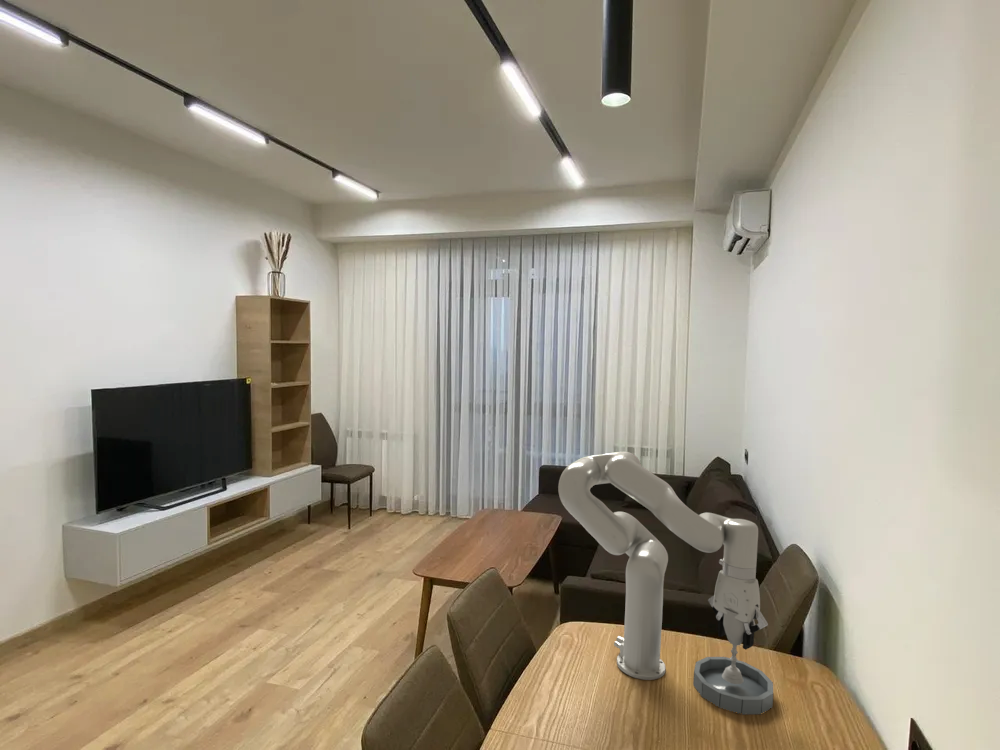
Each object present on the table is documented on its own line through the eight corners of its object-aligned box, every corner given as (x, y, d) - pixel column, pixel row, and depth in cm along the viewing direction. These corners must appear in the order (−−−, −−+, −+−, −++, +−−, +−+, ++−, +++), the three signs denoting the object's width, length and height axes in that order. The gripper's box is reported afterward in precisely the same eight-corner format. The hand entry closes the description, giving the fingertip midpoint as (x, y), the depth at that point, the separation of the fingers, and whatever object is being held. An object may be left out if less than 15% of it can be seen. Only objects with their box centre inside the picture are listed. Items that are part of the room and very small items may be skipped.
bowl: (679, 682, 138) (679, 669, 138) (721, 662, 148) (721, 650, 148) (745, 724, 123) (746, 709, 123) (786, 698, 134) (787, 684, 134)
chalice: (750, 688, 132) (755, 616, 131) (721, 684, 133) (725, 612, 132) (743, 672, 139) (747, 602, 138) (715, 667, 140) (719, 599, 140)
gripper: (699, 561, 140) (695, 629, 141) (764, 586, 126) (759, 662, 126) (717, 556, 144) (713, 622, 145) (781, 580, 130) (776, 653, 131)
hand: (734, 640), depth 136 cm, fingers closed on chalice, 6 cm apart
